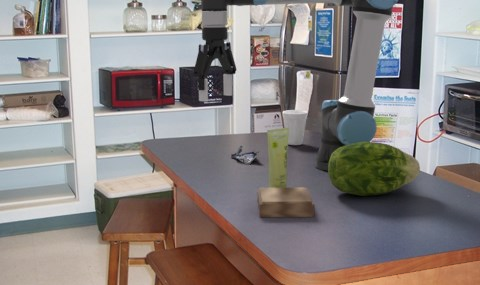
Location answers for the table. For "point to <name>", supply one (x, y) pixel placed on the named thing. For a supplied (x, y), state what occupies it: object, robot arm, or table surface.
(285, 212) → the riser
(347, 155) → the lettuce
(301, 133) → the cup
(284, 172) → the tube
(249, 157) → the snack package
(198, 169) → the table surface
